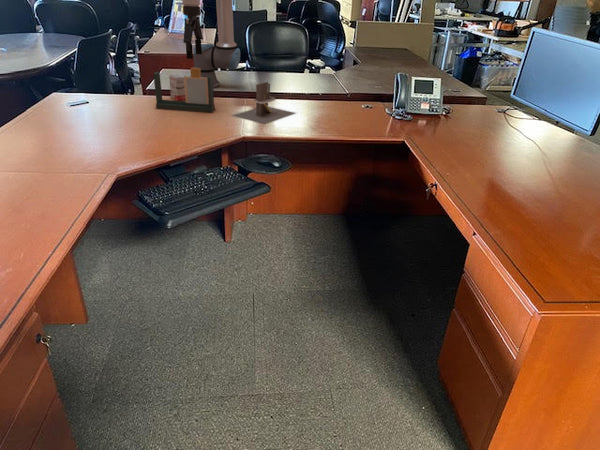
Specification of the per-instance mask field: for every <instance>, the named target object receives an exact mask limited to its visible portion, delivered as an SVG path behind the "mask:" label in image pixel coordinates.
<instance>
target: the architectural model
mask: <svg viewBox="0 0 600 450" xmlns="http://www.w3.org/2000/svg"><path fill="white" fill-rule="evenodd" d="M255 92H256V93H255V95H256V97H255V99H253V101H254V102H255V103H256V104H255V106H256V107H255V108H253V109H250V110H246V111H243V112H239V113H237V114H233V115H232V116H233V117H237V118H240V119H244V120H248V121H252V122H255V123H256V122H257V123H260V124H264V125H265V124H268V123H271V122H275V121H277V120H280V119H283V118H285V117H288V116H291V115H294V114H296V112H293V111H288V110H285V109H280V108H275V107H271V106H269V103H272V102H274V101H277V100H276V99H277V98H276V97H274V96H271V83H269V81H265V82H261V83H257V84H256V85H255Z"/></svg>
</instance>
